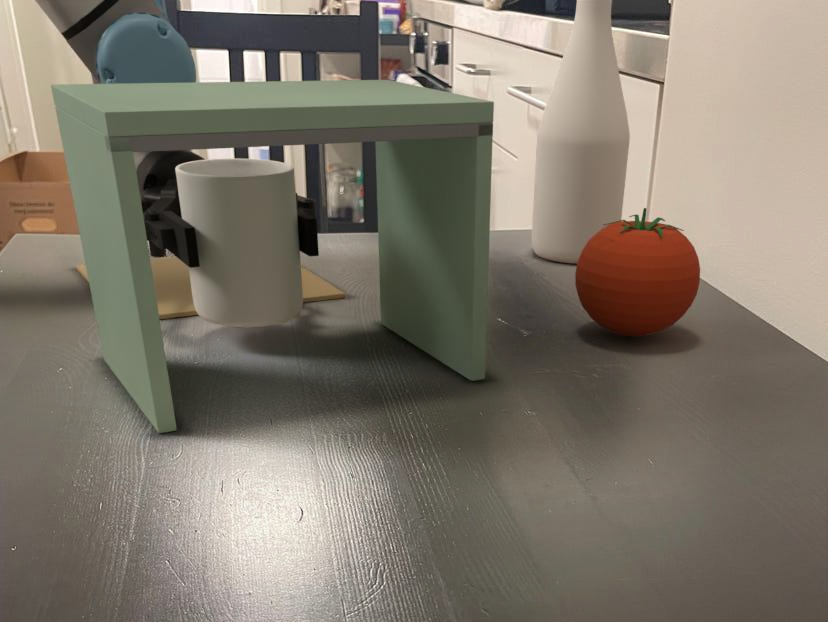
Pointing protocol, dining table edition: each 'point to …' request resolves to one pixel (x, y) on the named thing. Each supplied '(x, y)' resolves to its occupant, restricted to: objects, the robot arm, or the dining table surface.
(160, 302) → the mat
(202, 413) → the dining table surface
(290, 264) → the mug
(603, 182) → the wine bottle
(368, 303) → the dining table surface
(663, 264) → the tomato
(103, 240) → the shelf compartment
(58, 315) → the dining table surface
